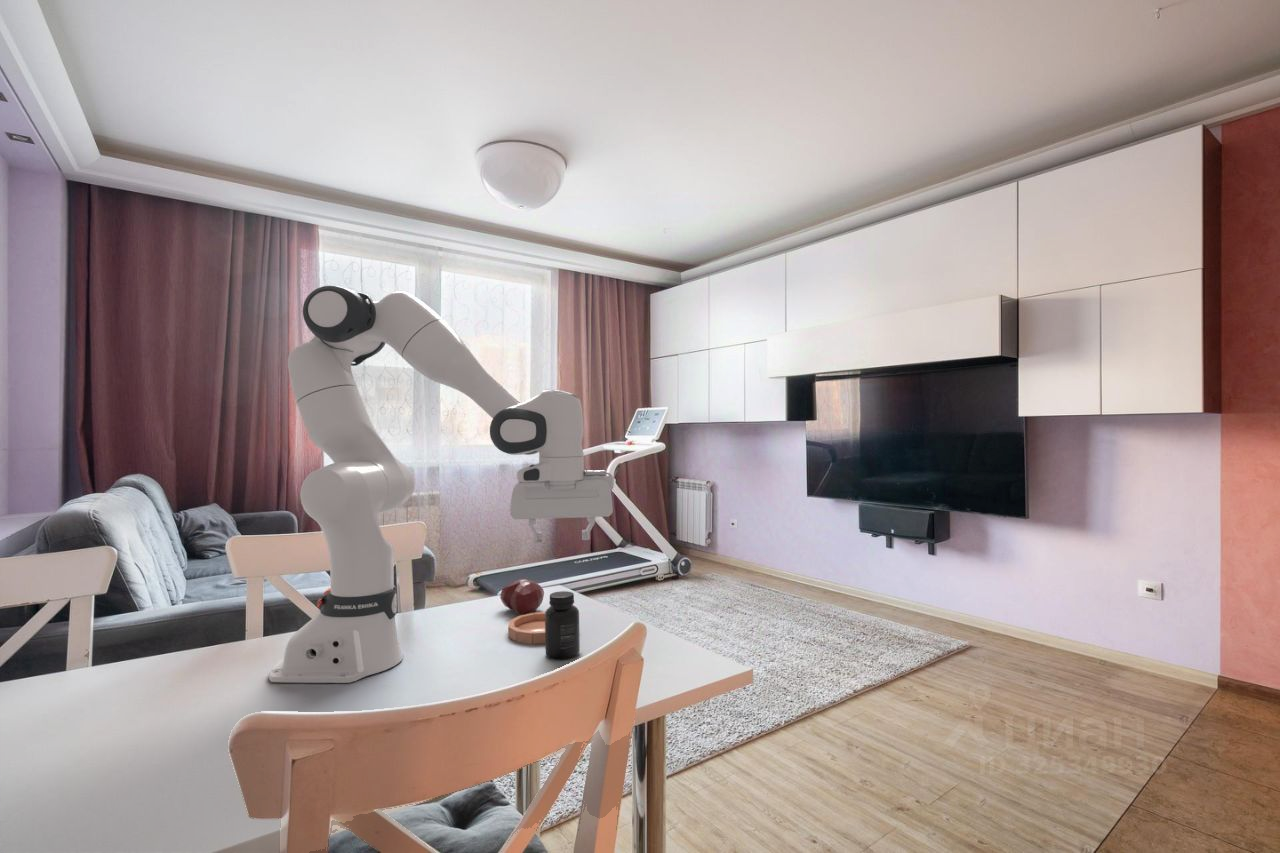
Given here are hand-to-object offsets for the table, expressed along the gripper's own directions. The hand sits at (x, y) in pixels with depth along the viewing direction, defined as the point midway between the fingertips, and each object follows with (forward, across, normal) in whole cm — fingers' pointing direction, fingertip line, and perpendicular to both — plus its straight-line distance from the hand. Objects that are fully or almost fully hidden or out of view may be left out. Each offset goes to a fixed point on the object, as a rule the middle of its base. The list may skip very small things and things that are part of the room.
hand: (562, 540), depth 120 cm
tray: (+23, +4, -14) cm, 27 cm away
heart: (+23, +8, -30) cm, 39 cm away
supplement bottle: (+23, 0, 0) cm, 23 cm away
